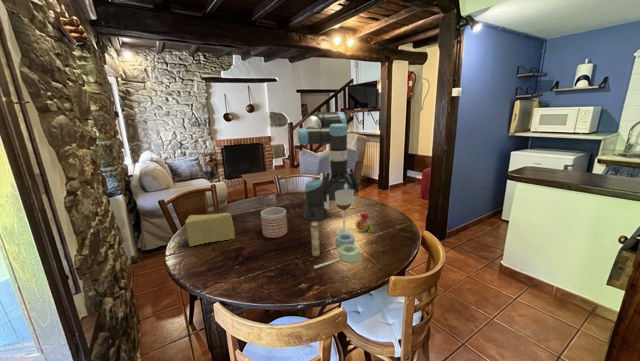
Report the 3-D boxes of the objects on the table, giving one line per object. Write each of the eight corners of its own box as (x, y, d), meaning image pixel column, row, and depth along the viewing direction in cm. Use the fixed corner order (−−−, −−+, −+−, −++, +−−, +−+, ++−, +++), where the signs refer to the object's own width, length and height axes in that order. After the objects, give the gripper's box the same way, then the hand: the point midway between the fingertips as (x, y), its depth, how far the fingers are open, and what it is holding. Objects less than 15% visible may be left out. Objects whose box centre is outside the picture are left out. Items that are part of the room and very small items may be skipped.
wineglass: (354, 229, 150) (354, 190, 144) (350, 237, 141) (349, 195, 135) (338, 227, 153) (337, 189, 147) (333, 235, 144) (332, 194, 138)
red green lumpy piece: (361, 237, 144) (376, 230, 144) (353, 221, 141) (368, 213, 141) (358, 233, 150) (373, 225, 150) (350, 216, 147) (365, 209, 147)
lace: (313, 268, 114) (313, 266, 114) (339, 259, 120) (339, 257, 120) (314, 269, 113) (314, 267, 113) (340, 260, 119) (340, 258, 119)
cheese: (236, 235, 148) (232, 209, 144) (234, 243, 139) (230, 216, 135) (193, 240, 144) (189, 214, 140) (188, 248, 135) (184, 221, 131)
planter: (292, 231, 150) (291, 210, 146) (272, 240, 140) (270, 218, 137) (277, 225, 159) (275, 205, 156) (257, 233, 149) (255, 212, 146)
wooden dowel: (310, 253, 126) (309, 222, 122) (317, 251, 127) (316, 220, 123) (314, 257, 123) (312, 225, 119) (321, 255, 124) (320, 223, 120)
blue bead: (332, 244, 134) (332, 237, 133) (344, 238, 140) (344, 231, 139) (345, 250, 127) (345, 243, 126) (358, 244, 133) (358, 237, 132)
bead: (335, 255, 124) (335, 247, 123) (351, 250, 128) (351, 242, 127) (346, 264, 116) (346, 256, 115) (363, 259, 120) (363, 251, 119)
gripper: (318, 164, 108) (320, 213, 113) (366, 157, 120) (365, 202, 125) (309, 161, 114) (311, 208, 119) (356, 155, 126) (356, 198, 131)
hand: (339, 205), depth 122 cm, fingers open, 13 cm apart
